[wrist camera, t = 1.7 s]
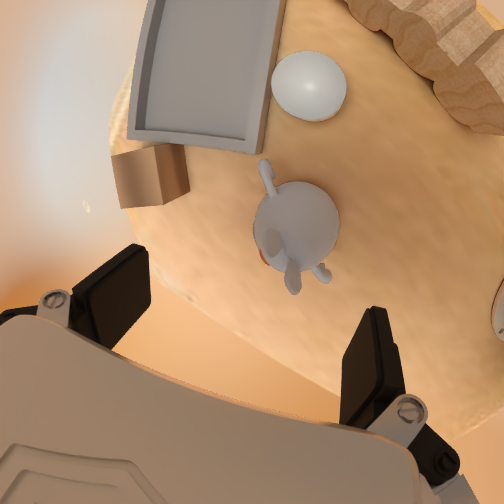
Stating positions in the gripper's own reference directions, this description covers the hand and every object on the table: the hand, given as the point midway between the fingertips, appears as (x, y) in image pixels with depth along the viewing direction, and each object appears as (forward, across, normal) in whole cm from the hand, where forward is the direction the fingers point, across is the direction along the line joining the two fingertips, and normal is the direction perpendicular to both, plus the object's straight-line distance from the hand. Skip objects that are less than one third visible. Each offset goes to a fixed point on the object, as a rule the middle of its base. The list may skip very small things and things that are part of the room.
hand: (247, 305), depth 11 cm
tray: (+16, +10, -13) cm, 23 cm away
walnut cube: (+16, +13, -1) cm, 20 cm away
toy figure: (+16, -1, 0) cm, 16 cm away
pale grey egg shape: (+15, 0, -10) cm, 18 cm away
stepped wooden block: (+15, -9, -17) cm, 25 cm away
